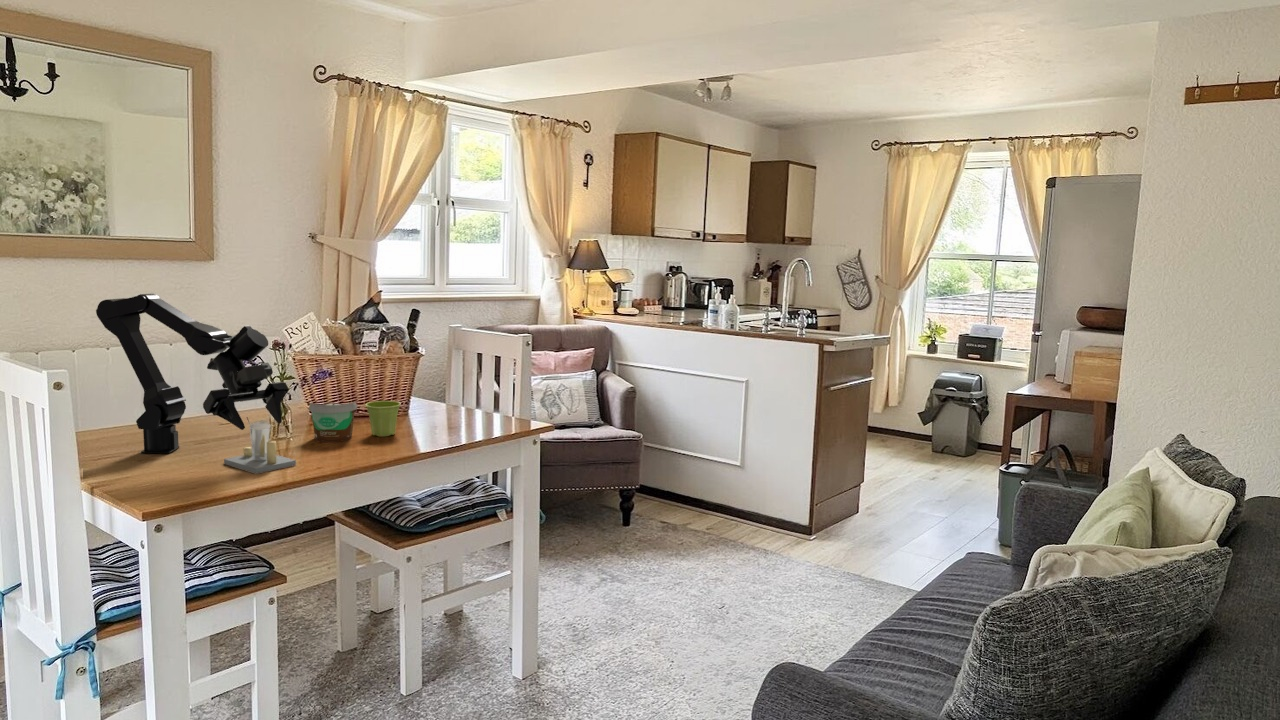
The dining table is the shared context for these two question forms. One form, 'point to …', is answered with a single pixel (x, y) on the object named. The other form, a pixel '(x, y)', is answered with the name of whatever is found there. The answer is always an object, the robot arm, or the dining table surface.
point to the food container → (333, 421)
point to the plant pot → (383, 417)
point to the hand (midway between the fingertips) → (262, 425)
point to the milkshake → (259, 439)
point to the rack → (257, 467)
